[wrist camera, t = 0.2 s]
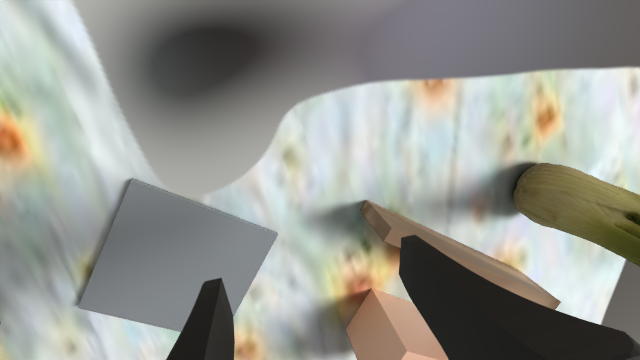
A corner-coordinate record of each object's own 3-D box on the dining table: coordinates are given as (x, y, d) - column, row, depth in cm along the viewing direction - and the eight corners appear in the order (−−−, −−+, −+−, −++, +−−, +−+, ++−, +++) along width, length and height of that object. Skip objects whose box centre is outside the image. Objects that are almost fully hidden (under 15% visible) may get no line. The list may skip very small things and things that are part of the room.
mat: (220, 337, 26) (220, 340, 25) (80, 303, 22) (77, 307, 22) (276, 232, 24) (277, 235, 23) (132, 178, 20) (130, 180, 20)
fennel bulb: (570, 164, 28) (787, 232, 17) (546, 216, 29) (731, 311, 18) (516, 153, 26) (716, 221, 15) (493, 209, 27) (661, 308, 16)
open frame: (415, 407, 34) (438, 455, 30) (261, 376, 28) (264, 431, 24) (517, 269, 30) (560, 302, 26) (366, 200, 24) (391, 228, 20)
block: (386, 340, 30) (421, 410, 24) (345, 329, 28) (372, 400, 22) (412, 302, 29) (455, 364, 23) (371, 288, 28) (407, 351, 22)
